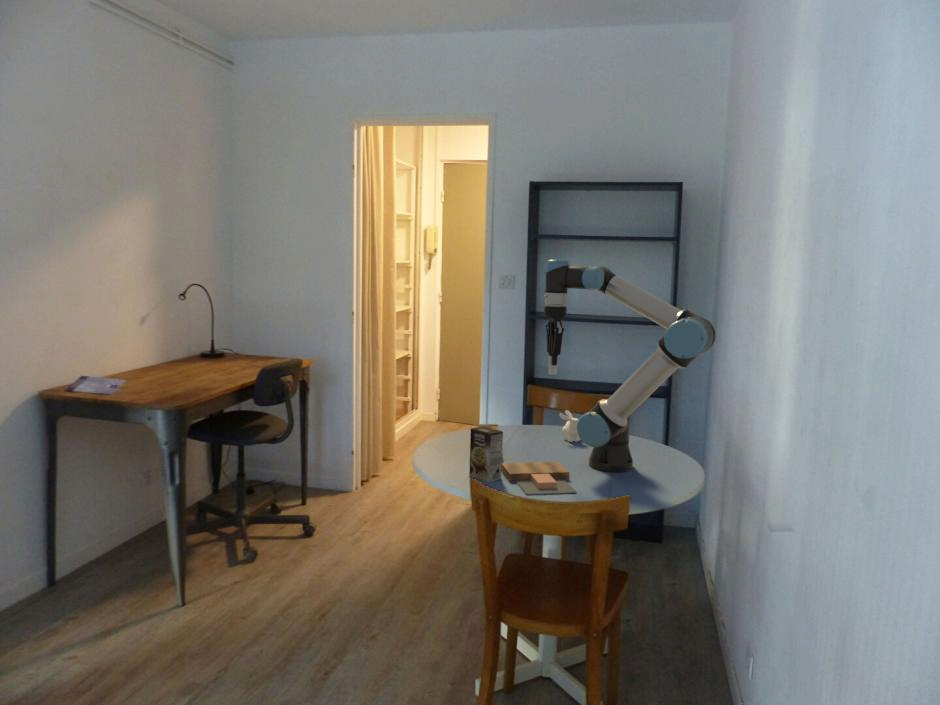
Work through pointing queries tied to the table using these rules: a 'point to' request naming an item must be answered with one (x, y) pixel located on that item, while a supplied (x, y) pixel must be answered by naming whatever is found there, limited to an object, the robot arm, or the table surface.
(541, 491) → the mat
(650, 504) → the table surface
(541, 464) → the brown wooden board
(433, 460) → the table surface
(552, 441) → the table surface
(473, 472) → the coffee box
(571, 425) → the rabbit
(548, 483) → the salmon orange flat block
